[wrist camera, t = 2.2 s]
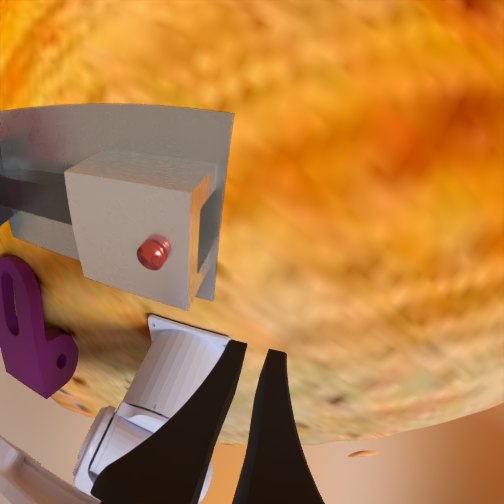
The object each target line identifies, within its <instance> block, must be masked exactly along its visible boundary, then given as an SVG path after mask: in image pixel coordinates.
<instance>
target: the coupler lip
mask: <svg viewBox="0 0 504 504" xmlns="http://www.w3.org/2000/svg"><path fill="white" fill-rule="evenodd" d="M233 120H234V113H229V112H221V111H214V110H206V109H197V108H187V107H176V106H163V105H146V104H110V103H101V104H66V105H51V106H39V107H29V108H20V109H12V110H5V111H0V226H1V225H2V224H3V223H5V222H6V221H7V220H9V224H10V227H11V231H12V234H13V237H16V238H18V239H21V240H23V241H26V242H29V243H31V244H34V245H37V246H39V247H42V248H45V249H47V250H50V251H53V252H56V253H58V254H61V255H64V256H67V257H70V258H72V259H75V260H78V261H80V258H79V254H78V249H77V245H76V240H75V236H74V231H73V226H72V221H71V215H70V210H69V204H68V197H67V191H66V183H65V176H64V171H66V170H68V169H69V168H71V167H73V166H75V165H76V164H78V163H80V162H82V161H84V160H85V159H87V158H89V157H91V156H93V155H95V154H96V153H98V152H100V151H102V150H104V149H112V150H121V151H130V152H138V153H146V154H154V155H161V156H168V157H175V158H181V159H187V160H194V161H200V162H205V163H211V164H217V165H218V169H217V178H216V188H215V191H214V192H213V193H212V194H211V196H210V197H209V198H208V200H207V201H206V202H205V203H204V205H203V206H202V207H201V209H200V225H199V243H198V249H202V250H206V251H210V257H209V270H208V272H207V274H206V276H205V278H204V280H203V282H202V284H201V286H200V288H199V290H198V292H197V294H196V296H195V297H198V298H202V299H206V300H209V301H213V300H214V291H215V279H216V268H217V258H218V247H219V238H220V228H221V218H222V209H223V200H224V191H225V183H226V174H227V166H228V158H229V150H230V142H231V135H232V127H233Z"/></svg>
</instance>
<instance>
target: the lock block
mask: <svg viewBox="0 0 504 504" xmlns="http://www.w3.org/2000/svg"><path fill="white" fill-rule="evenodd" d="M217 169H218V165H217V164H211V163H205V162H200V161H194V160H187V159H181V158H175V157H168V156H161V155H154V154H146V153H138V152H130V151H121V150H112V149H104V150H102V151H100V152H98V153H96V154H95V155H93V156H91V157H89V158H87V159H85V160H84V161H82V162H80V163H78V164H76V165H75V166H73V167H71V168H69V169H68V170H66V171H64V176H65V183H66V191H67V197H68V204H69V210H70V215H71V221H72V226H73V231H74V236H75V240H76V245H77V249H78V254H79V258H80V262H81V266H82V270H83V274H84V277H86V278H89V279H92V280H94V281H97V282H100V283H103V284H106V285H109V286H111V287H114V288H117V289H120V290H123V291H126V292H129V293H132V294H135V295H138V296H142V297H145V298H148V299H151V300H154V301H157V302H161V303H164V304H167V305H170V306H174V307H177V308H181V309H184V310H187V311H188V310H189V308H190V306H191V304H192V302H193V300H194V298H195V296H196V294H197V292H198V290H199V288H200V286H201V284H202V282H203V280H204V278H205V276H206V274H207V272H208V270H209V257H210V251H206V250H202V249H198V243H199V225H200V209H201V207H202V206H203V205H204V203H205V202H206V201H207V200H208V198H209V197H210V196H211V194H212V193H213V192H214V191H215V188H216V178H217Z"/></svg>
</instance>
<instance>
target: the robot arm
mask: <svg viewBox="0 0 504 504" xmlns="http://www.w3.org/2000/svg"><path fill="white" fill-rule="evenodd" d="M148 324H149V330H150V336H151V341H152V344H151V346H150V348H149V350H148V352H147V354H146V356H145V358H144V360H143V362H142V364H141V365H140V367H139V369H138V371H137V373H136V375H135V377H134V379H133V381H132V383H131V385H130V387H129V389H128V391H127V393H126V395H125V397H124V399H123V401H122V402H121V403H120V405H119V407H118V409H117V411H116V413H115V412H114V411H115V409H116V408H114V407H113V406H108V407H104V408H101V410H100V411H99V413H98V415H97V416H96V418H95V420H94V422H93V424H92V426H91V428H90V430H89V432H88V434H87V437H86V438H85V441H84V443H83V445H82V447H81V450H80V452H79V455H78V462H77V464H76V466H75V469H74V471H73V475H74V476H75V477H74V480H73V481H74V483H75V485H76V487H77V488H78V489H77V488H76V487H74V486H72V485H70V484H69V483H67V482H65V481H64V480H62V479H61V478H59V477H57V476H56V475H54V474H53V473H51V472H50V471H48V470H47V469H45V468H44V467H42V466H41V464H40V463H39V462H38V461H36V460H35V459H33V458H32V457H30V456H29V455H28V454H27V453H25V452H24V451H22V450H21V449H19V448H18V447H16V446H14V445H13V444H11V443H10V442H9V441H7V440H6V439H5V438H3V437H2V436H1V435H0V494H1V495H2V496H3V497H4V498H5V499H6V500H7V501H9V503H10V504H199V503H200V502H201V500H202V499H203V498H204V496H205V494H206V492H207V490H208V487H209V485H210V482H211V477H212V469H213V467H212V461H211V457H212V453H213V450H214V446H215V444H216V441H217V438H218V436H219V433H220V431H221V428H222V425H223V423H224V420H225V418H226V415H227V413H228V410H229V408H230V405H231V402H232V400H233V397H234V395H235V391H236V388H237V384H238V380H239V376H240V373H241V369H242V365H243V360H244V356H245V352H246V348H247V343H243V342H239V341H235V340H231V338H229V337H227V336H223V335H219V334H215V333H212V332H208V331H205V330H201V329H197V328H194V327H191V326H187V325H184V324H181V323H177V322H174V321H171V320H167V319H164V318H161V317H158V316H155V315H150V316H149V317H148ZM232 504H325V503H324V502H323V499H322V497H321V495H320V493H319V491H318V489H317V487H316V485H315V482H314V480H313V477H312V475H311V473H310V470H309V468H308V465H307V462H306V459H305V456H304V453H303V450H302V447H301V443H300V440H299V436H298V433H297V429H296V424H295V420H294V416H293V411H292V405H291V399H290V393H289V386H288V377H287V354H286V353H285V352H281V351H277V350H272V349H269V350H268V353H267V356H266V359H265V362H264V365H263V368H262V371H261V374H260V377H259V381H258V385H257V389H256V393H255V398H254V404H253V411H252V418H251V425H250V432H249V439H248V445H247V450H246V455H245V459H244V463H243V467H242V470H241V474H240V478H239V481H238V485H237V488H236V492H235V495H234V498H233V502H232Z"/></svg>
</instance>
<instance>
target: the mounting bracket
mask: <svg viewBox="0 0 504 504" xmlns="http://www.w3.org/2000/svg"><path fill="white" fill-rule="evenodd" d="M13 284H14V292H15V302H16V311H17V316H16V311H15V303H14V292H13ZM0 347H1V351H2V356H3V360H4V364H5V368H6V372H8V373H9V374H11V375H12V376H13V377H15V378H16V379H18V380H19V381H20V382H22V383H23V384H24V385H26V386H28V387H29V388H30V389H32V390H33V391H35V392H36V393H38V394H40V395H41V396H43V397H44V398H46V399H48V398H49V397H50V396H51V395H53V394H54V393H55V392H56V391H58V390H59V389H60V388H61V387H63V386H64V385H65V384H66V383H67V382H68V381H69V380H70V379H71V377H72V376H73V374H74V372H75V369H76V366H77V361H78V348H77V346H76V344H75V343H74V341H73V339H72V337H71V336H70V335H67V334H65V333H63V332H61V331H58V330H56V329H50V330H47V331H45V329H44V321H43V311H42V300H41V293H40V289H39V285H38V282H37V280H36V277H35V275H34V273H33V271H32V269H31V268H30V266H29V265H28V264H27V263H26V262H25V261H24V260H23V259H21V258H19V257H17V256H14V255H12V256H7V257H3V258H0Z"/></svg>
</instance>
